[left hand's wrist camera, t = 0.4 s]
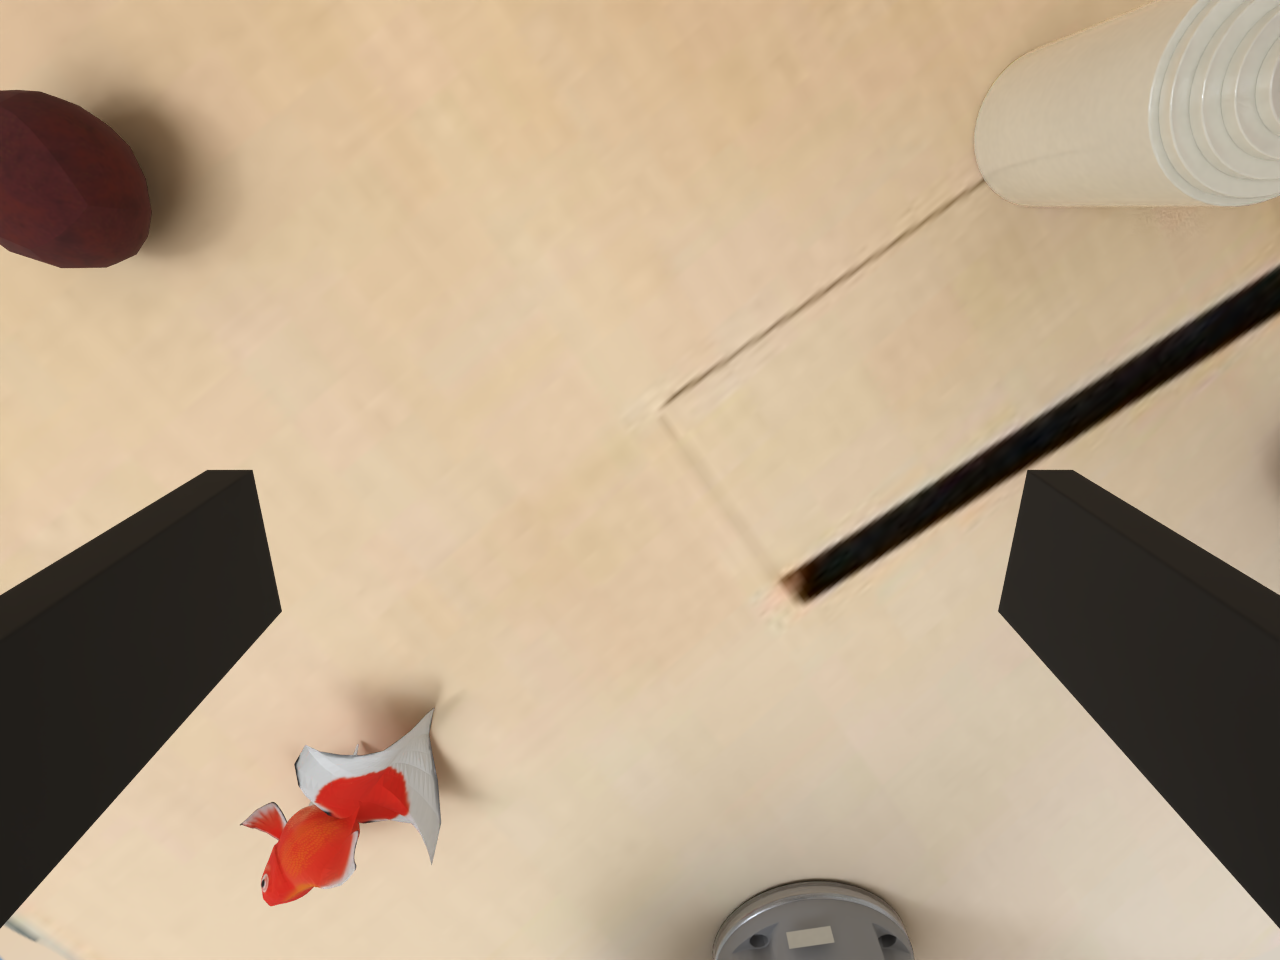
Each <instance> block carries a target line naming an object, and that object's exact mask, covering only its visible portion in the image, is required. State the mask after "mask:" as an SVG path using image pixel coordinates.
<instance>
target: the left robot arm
mask: <svg viewBox="0 0 1280 960" xmlns="http://www.w3.org/2000/svg"><path fill="white" fill-rule="evenodd" d="M281 612H282V610H281V605H280V600H279V595H278V590H277V586H276V581H275V576H274V571H273V566H272V562H271V557H270V552H269V547H268V542H267V537H266V533H265V528H264V523H263V518H262V513H261V509H260V504H259V499H258V494H257V489H256V484H255V480H254V475H253V470H207V471H205V472H203V473H202V474H200V475H198V476H197V477H195V478H193V479H192V480H190V481H188V482H187V483H185V484H183V485H182V486H180V487H178V488H177V489H175V490H173V491H172V492H170V493H169V494H167V495H165V496H164V497H162V498H160V499H159V500H157V501H155V502H154V503H152V504H150V505H149V506H147V507H145V508H144V509H142V510H140V511H139V512H137V513H136V514H134V515H132V516H131V517H129V518H127V519H126V520H124V521H122V522H121V523H119V524H117V525H116V526H114V527H112V528H111V529H109V530H107V531H106V532H104V533H103V534H101V535H99V536H98V537H96V538H94V539H93V540H91V541H89V542H88V543H86V544H84V545H83V546H81V547H79V548H78V549H76V550H74V551H73V552H71V553H69V554H68V555H66V556H65V557H63V558H61V559H60V560H58V561H56V562H55V563H53V564H51V565H50V566H48V567H46V568H45V569H43V570H41V571H40V572H38V573H36V574H35V575H33V576H32V577H30V578H28V579H27V580H25V581H23V582H22V583H20V584H18V585H17V586H15V587H13V588H12V589H10V590H8V591H7V592H5V593H3V594H2V595H0V928H1V927H2V926H3V925H4V924H5V923H6V921H7V920H8V919H9V918H10V917H11V916H12V915H13V914H14V912H15V911H16V910H17V909H18V908H19V907H20V906H21V905H22V903H23V902H24V901H25V900H26V899H27V898H28V897H29V896H30V894H31V893H32V892H33V891H34V890H35V889H36V888H37V887H38V885H39V884H40V883H41V882H42V881H43V880H44V879H45V878H46V876H47V875H48V874H49V873H50V872H51V871H52V870H53V868H54V867H55V866H56V865H57V864H58V863H59V862H60V861H61V859H62V858H63V857H64V856H65V855H66V854H67V853H68V852H69V850H70V849H71V848H72V847H73V846H74V845H75V844H76V843H77V841H78V840H79V839H80V838H81V837H82V836H83V835H84V834H85V832H86V831H87V830H88V829H89V828H90V827H91V826H92V825H93V823H94V822H95V821H96V820H97V819H98V818H99V817H100V816H101V814H102V813H103V812H104V811H105V810H106V809H107V808H108V807H109V805H110V804H111V803H112V802H113V801H114V800H115V799H116V798H117V796H118V795H119V794H120V793H121V792H122V791H123V790H124V789H125V787H126V786H127V785H128V784H129V783H130V782H131V781H132V780H133V778H134V777H135V776H136V775H137V774H138V773H139V772H140V771H141V769H142V768H143V767H144V766H145V765H146V764H147V763H148V761H149V760H150V759H151V758H152V757H153V756H154V755H155V754H156V752H157V751H158V750H159V749H160V748H161V747H162V746H163V745H164V743H165V742H166V741H167V740H168V739H169V738H170V737H171V736H172V734H173V733H174V732H175V731H176V730H177V729H178V728H179V727H180V725H181V724H182V723H183V722H184V721H185V720H186V719H187V718H188V716H189V715H190V714H191V713H192V712H193V711H194V710H195V709H196V707H197V706H198V705H199V704H200V703H201V702H202V701H203V700H204V698H205V697H206V696H207V695H208V694H209V693H210V692H211V691H212V689H213V688H214V687H215V686H216V685H217V684H218V683H219V682H220V680H221V679H222V678H223V677H224V676H225V675H226V674H227V673H228V671H229V670H230V669H231V668H232V667H233V666H234V665H235V664H236V662H237V661H238V660H239V659H240V658H241V657H242V656H243V654H244V653H245V652H246V651H247V650H248V649H249V648H250V647H251V645H252V644H253V643H254V642H255V641H256V640H257V639H258V638H259V636H260V635H261V634H262V633H263V632H264V631H265V630H266V629H267V627H268V626H269V625H270V624H271V623H272V622H273V621H274V620H275V618H276V617H277V616H278V615H279V614H280V613H281ZM998 612H999V613H1000V614H1001V615H1002V616H1003V617H1004V618H1005V620H1006V621H1007V622H1008V623H1009V624H1010V625H1011V626H1012V627H1013V629H1014V630H1015V631H1016V632H1017V633H1018V634H1019V635H1020V636H1021V638H1022V639H1023V640H1024V641H1025V642H1026V643H1027V644H1028V645H1029V647H1030V648H1031V649H1032V650H1033V651H1034V652H1035V653H1036V654H1037V656H1038V657H1039V658H1040V659H1041V660H1042V661H1043V662H1044V664H1045V665H1046V666H1047V667H1048V668H1049V669H1050V670H1051V671H1052V673H1053V674H1054V675H1055V676H1056V677H1057V678H1058V679H1059V680H1060V682H1061V683H1062V684H1063V685H1064V686H1065V687H1066V688H1067V689H1068V691H1069V692H1070V693H1071V694H1072V695H1073V696H1074V697H1075V698H1076V700H1077V701H1078V702H1079V703H1080V704H1081V705H1082V706H1083V707H1084V709H1085V710H1086V711H1087V712H1088V713H1089V714H1090V715H1091V716H1092V718H1093V719H1094V720H1095V721H1096V722H1097V723H1098V724H1099V725H1100V727H1101V728H1102V729H1103V730H1104V731H1105V732H1106V733H1107V734H1108V736H1109V737H1110V738H1111V739H1112V740H1113V741H1114V742H1115V743H1116V745H1117V746H1118V747H1119V748H1120V749H1121V750H1122V751H1123V752H1124V754H1125V755H1126V756H1127V757H1128V758H1129V759H1130V760H1131V761H1132V763H1133V764H1134V765H1135V766H1136V767H1137V768H1138V769H1139V771H1140V772H1141V773H1142V774H1143V775H1144V776H1145V777H1146V778H1147V780H1148V781H1149V782H1150V783H1151V784H1152V785H1153V786H1154V787H1155V789H1156V790H1157V791H1158V792H1159V793H1160V794H1161V795H1162V796H1163V798H1164V799H1165V800H1166V801H1167V802H1168V803H1169V804H1170V805H1171V807H1172V808H1173V809H1174V810H1175V811H1176V812H1177V813H1178V814H1179V816H1180V817H1181V818H1182V819H1183V820H1184V821H1185V822H1186V823H1187V825H1188V826H1189V827H1190V828H1191V829H1192V830H1193V831H1194V832H1195V834H1196V835H1197V836H1198V837H1199V838H1200V839H1201V840H1202V841H1203V843H1204V844H1205V845H1206V846H1207V847H1208V848H1209V849H1210V850H1211V852H1212V853H1213V854H1214V855H1215V856H1216V857H1217V858H1218V859H1219V861H1220V862H1221V863H1222V864H1223V865H1224V866H1225V867H1226V868H1227V870H1228V871H1229V872H1230V873H1231V874H1232V875H1233V876H1234V877H1235V879H1236V880H1237V881H1238V882H1239V883H1240V884H1241V885H1242V887H1243V888H1244V889H1245V890H1246V891H1247V892H1248V893H1249V894H1250V896H1251V897H1252V898H1253V899H1254V900H1255V901H1256V902H1257V903H1258V905H1259V906H1260V907H1261V908H1262V909H1263V910H1264V911H1265V912H1266V914H1267V915H1268V916H1269V917H1270V918H1271V919H1272V920H1273V921H1274V923H1275V924H1276V925H1277V926H1278V927H1279V928H1280V595H1278V594H1277V593H1275V592H1273V591H1272V590H1270V589H1268V588H1267V587H1265V586H1263V585H1262V584H1260V583H1258V582H1257V581H1255V580H1253V579H1252V578H1250V577H1248V576H1247V575H1245V574H1244V573H1242V572H1240V571H1239V570H1237V569H1235V568H1234V567H1232V566H1230V565H1229V564H1227V563H1225V562H1224V561H1222V560H1220V559H1219V558H1217V557H1215V556H1214V555H1212V554H1211V553H1209V552H1207V551H1206V550H1204V549H1202V548H1201V547H1199V546H1197V545H1196V544H1194V543H1192V542H1191V541H1189V540H1187V539H1186V538H1184V537H1182V536H1181V535H1179V534H1177V533H1176V532H1174V531H1173V530H1171V529H1169V528H1168V527H1166V526H1164V525H1163V524H1161V523H1159V522H1158V521H1156V520H1154V519H1153V518H1151V517H1149V516H1148V515H1146V514H1144V513H1143V512H1141V511H1140V510H1138V509H1136V508H1135V507H1133V506H1131V505H1130V504H1128V503H1126V502H1125V501H1123V500H1121V499H1120V498H1118V497H1116V496H1115V495H1113V494H1111V493H1110V492H1108V491H1107V490H1105V489H1103V488H1102V487H1100V486H1098V485H1097V484H1095V483H1093V482H1092V481H1090V480H1088V479H1087V478H1085V477H1083V476H1082V475H1080V474H1078V473H1077V472H1075V471H1073V470H1027V475H1026V480H1025V484H1024V489H1023V494H1022V499H1021V504H1020V509H1019V513H1018V518H1017V523H1016V528H1015V533H1014V537H1013V542H1012V547H1011V552H1010V557H1009V562H1008V566H1007V571H1006V576H1005V581H1004V586H1003V590H1002V595H1001V600H1000V605H999V610H998ZM713 960H914V954H913V949H912V946H911V943H910V940H909V937H908V935H907V932H906V929H905V926H904V924H903V922H902V920H901V918H900V917H899V915H898V914H897V913H896V912H895V910H894V909H893V908H892V907H891V906H890V905H889V904H888V903H886V902H885V901H884V900H882V899H881V898H879V897H878V896H876V895H874V894H873V893H870V892H868V891H866V890H864V889H861V888H858V887H855V886H851V885H848V884H842V883H836V882H824V881H813V882H801V883H794V884H789V885H785V886H781V887H777V888H774V889H771V890H769V891H766V892H764V893H761V894H759V895H757V896H755V897H753V898H752V899H750V900H748V901H747V902H745V903H744V904H743V905H741V906H740V907H739V908H737V909H736V910H735V911H734V912H733V913H732V914H731V915H730V916H729V917H728V918H727V919H726V921H725V922H724V923H723V925H722V926H721V928H720V930H719V931H718V934H717V936H716V938H715V942H714V946H713Z"/></svg>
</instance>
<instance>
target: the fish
mask: <svg viewBox="0 0 1280 960" xmlns="http://www.w3.org/2000/svg"><path fill="white" fill-rule="evenodd" d="M433 711H434V708H433V709H432V710H431V711H430V712H428V713H427V714H426V715H425V716H424V717H423V718H422V719H421V720H420V721H419V723H418V724H417V725H416V726H415V727H414V728H413V729H412V730H411V731H410V732H409V733H407V734H406V735H405V736H403V737H402V738H401V739H399V740H398V741H397V742H395V743H394V744H392V745H391V746H390V747H388V748H387V749H385V750H384V751H381V752H377V753H372V754H367V755H357V751H358V746H359V744H357V746H356V749H355V752H354V754H353V755H338V754H332V753H325V752H320V751H317V750H315V749H313V748H311V747H309V746H307V745H305V747H304V748H303V750H302V752H301V754H300V755H299V757H298V759H297V761H296V762H295V770H296V775H297V780H298V785H299V787H300V788H301V790H302V791H303V793H304V794H305V796H306V797H307V798H308V799H309V800H310V801H311V802H310V804H309V806H308V807H305V808H303V809H301V810H300V811H298V812H297V813H296V814H295V815H293V816H292V817H291V819H290V820H289V821H288V822H287V821H286V818H285V816H284V814H283V813H282V811H281V809H280V808H279V807H278V805H277V804H276V803H275V802H271V803H268V804H266V805H264V806H263V807H261V808H259V809H257V810H256V811H255V812H254V813H252V814H251V815H250V816H249V817H248V818H247V819H246V820H245V821H244V822H243V823H241V824H240V825H244V826H247V827H249V828H256V829H258V830H260V831H263V832H266V833H268V834H269V835H271V836H272V837H274V838H276V839H277V840H279V841H278V843H277V844H276V845H274V847H273V850H272V853H271V855H270V858H269V861H268V863H267V865H266V868H265V870H264V873H263V876H262V880H261V888H262V894H263V899H264V900H265V901H266V902H267V903H268V904H269V905H270V906H274V905H278V904H283V903H287V902H291V901H294V900H297V899H299V898H301V897H303V896H304V895H305V894H307V893H308V892H309V891H310V890H311V889H312V888H313V887H319V888H323V889H326V888H333V887H337V886H340V885H342V884H343V883H344V882H345V881H347V880H348V879H349V877H350V876H351V875H352V874H353V872H354V871H355V869H356V864H355V861H354V853H355V848H356V844H357V840H358V837H359V834H360V828H359V823H370V822H377V821H384V820H393V821H398V822H406V823H411V824H412V825H414V827H415V828H416V829H417V830H418V831H419V833H420V834H421V836H422V838H423V840H424V843H425V845H426V847H427V850H428V853H429V856H430V860H431V865H432V862H433V857H434V853H435V848H436V844H437V839H438V834H439V830H440V825H441V816H440V803H439V790H438V780H437V775H436V770H435V765H434V759H433V754H432V748H431V742H430V737H429V731H430V726H431V721H432V715H433ZM358 822H359V823H358Z"/></svg>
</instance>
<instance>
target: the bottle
mask: <svg viewBox="0 0 1280 960" xmlns="http://www.w3.org/2000/svg"><path fill="white" fill-rule="evenodd" d="M974 151H975V157H976V162H977V165H978V168H979V170H980V173H981V175H982V176H983V178H984V180H985V181H986V183H987V184H988V186H989V187H990V188H991V189H992V190H993V191H994V192H995V193H996V194H997V195H999V196H1000V197H1001V198H1003V199H1005V200H1007V201H1009V202H1010V203H1013V204H1016V205H1020V206H1025V207H1238V206H1247V205H1252V204H1256V203H1261V202H1264V201H1267V200H1270V199H1273V198H1275V197H1278V196H1280V0H1155V1H1152V2H1150V3H1147V4H1145V5H1142V6H1140V7H1137V8H1135V9H1132V10H1130V11H1127V12H1125V13H1122V14H1120V15H1117V16H1115V17H1112V18H1110V19H1107V20H1105V21H1102V22H1100V23H1098V24H1095V25H1093V26H1090V27H1088V28H1085V29H1083V30H1080V31H1078V32H1075V33H1073V34H1070V35H1068V36H1065V37H1063V38H1060V39H1058V40H1055V41H1053V42H1050V43H1048V44H1045V45H1043V46H1040V47H1038V48H1036V49H1033V50H1031V51H1029V52H1027V53H1026V54H1024V55H1022V56H1021V57H1019V58H1018V59H1016V60H1015V61H1014V62H1012V63H1011V64H1010V65H1009V66H1008V67H1007V68H1006V69H1005V70H1004V71H1003V72H1002V73H1001V74H1000V75H999V77H998V78H997V79H996V80H995V82H994V83H993V85H992V86H991V87H990V89H989V91H988V92H987V94H986V96H985V98H984V100H983V102H982V105H981V107H980V110H979V113H978V117H977V120H976V126H975V131H974Z"/></svg>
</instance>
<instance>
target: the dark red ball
mask: <svg viewBox="0 0 1280 960" xmlns="http://www.w3.org/2000/svg"><path fill="white" fill-rule="evenodd" d="M151 213H152V212H151V206H150V201H149V195H148V190H147V184H146V179H145V177H144V175H143V172H142V170H141V168H140V166H139V164H138V162H137V160H136V158H135V156H134V154H133V152H132V150H131V148H130V146H129V145H128V144H127V143H126V142H125V141H124V140H123V139H122V138H121V137H120V136H119V135H118V134H117V133H116V132H115V131H114V130H113V129H112V128H111V127H109V126H108V125H107V124H105V123H104V122H102V121H101V120H99V119H98V118H97V117H95V116H94V115H92V114H91V113H89V112H88V111H86V110H85V109H83V108H82V107H80V106H78V105H75V104H73V103H70V102H68V101H65V100H63V99H60V98H57V97H54V96H51V95H49V94H46V93H43V92H39V91H24V90H6V91H0V245H2V246H3V247H4V248H6V249H7V250H9V251H10V252H13V253H16V254H20V255H23V256H26V257H29V258H32V259H35V260H38V261H41V262H44V263H47V264H51V265H54V266H57V267H60V268H102V267H109V266H111V265H114V264H116V263H119V262H121V261H123V260H125V259H127V258H129V257H132V256H134V255H136V254H137V252H138V251H139V249H140V248H141V246H142V245H143V243H144V242H145V240H146V239H147V237H148V233H149V227H150V220H151Z"/></svg>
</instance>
